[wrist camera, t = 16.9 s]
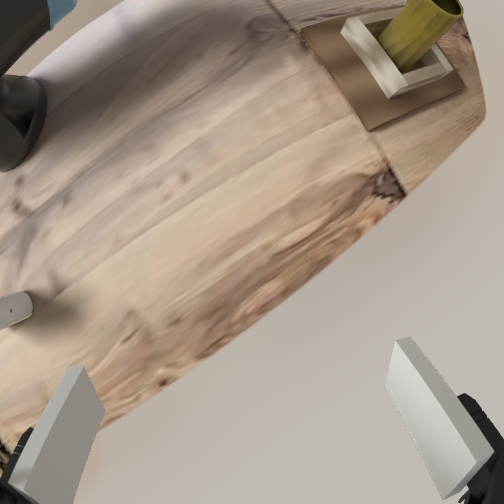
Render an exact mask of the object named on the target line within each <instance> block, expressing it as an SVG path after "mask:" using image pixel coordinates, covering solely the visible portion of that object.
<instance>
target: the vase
mask: <svg viewBox="0 0 504 504" xmlns="http://www.w3.org/2000/svg"><path fill="white" fill-rule="evenodd" d="M462 16H463V7H462V5H461V3H460V2H459V0H408V1H407V2H406V4H405V5H404V6H403V8H402V9H401V10H400V11H399V13H398V14H397V15H396V16H395V17H394V19H393V20H392V21H391V22H390V24H389V25H388V26H387V27H386V28H385V30H384V31H383V32H382V33H381V35H380V36H379V37H378V38H377V39H376V40H377V42H378V43H379V44H380V46H381V47H382V48H383V50H384V51H385V52H386V54H387V55H388V56H389V58H390V59H391V60H392V62H393V63H394V65H395V66H396V67H397V69H398V70H399V72H400V73H406V72H409V71H410V70H411V69H412V67H413V65H414V64H415V63H416V62H417V61H419V60H420V59H421V58H422V56H423V55H424V54H425V53H426V52H427V51H428V50H429V49H430V48H431V47H432V46H433V45H434V44H435V43H436V42H437V41H438V40H439V39H440V38H441V37H442V36H443V35H444V34H445V33H446V32H447V31H448V29H449V28H450V27H451V26H452V25H453V24H454V23H455V22H457V21H458V20H459V19H460V18H461V17H462Z"/></svg>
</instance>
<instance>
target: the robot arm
mask: <svg viewBox="0 0 504 504" xmlns="http://www.w3.org/2000/svg"><path fill="white" fill-rule="evenodd" d="M76 4H77V0H0V172H5V171H8V170H11V169H12V168H14V167H15V166H17V165H18V164H19V163H20V162H21V161H22V160H23V159H24V158H25V157H26V156H27V154H28V153H29V152H30V150H31V149H32V147H33V146H34V144H35V142H36V140H37V138H38V136H39V134H40V131H41V129H42V126H43V123H44V119H45V114H46V105H47V101H46V94H45V91H44V89H43V87H42V86H41V84H40V83H38V82H37V81H35V80H34V79H32V78H30V77H27V76H17V75H6V74H5V73H6V71H7V70H8V69H9V68H10V67H11V66H12V65H13V64H14V63H15V62H16V61H17V60H18V59H19V58H20V57H21V56H22V55H23V54H24V53H25V52H26V51H27V50H28V49H29V48H30V47H31V46H32V45H33V44H34V43H36V41H38V40H39V39H40V38H41V37H42V36H43V35H44V34H46V33H47V32H48V31H52V30H53V28H54V26H55V25H56V24H57V23H58V22H60V21H61V20H62V19H63V18H64V17H66V16H67V15H68V14H69V13H70V12H71V11H72V10H73V9H74V7H75V6H76ZM385 388H386V390H387V392H388V394H389V396H390V398H391V399H392V401H393V403H394V405H395V407H396V409H397V410H398V412H399V414H400V416H401V418H402V420H403V422H404V424H405V426H406V427H407V429H408V431H409V433H410V435H411V437H412V439H413V441H414V443H415V445H416V447H417V449H418V451H419V453H420V455H421V456H422V459H423V460H424V462H425V465H426V467H427V469H428V471H429V473H430V475H431V477H432V479H433V481H434V483H435V485H436V487H437V489H438V491H439V493H440V496H441V498H442V500H444V499H447V498H448V497H450V496H453V495H454V494H456V493H458V492H460V491H461V490H462V489H463V488H464V487H465V485H467V486H468V488H469V490H468V491H467V492H466V493H465V494H464V495H463V496H462V497H461V498H460V500H459V501H458V503H461V502H462V501H463V500H464V499H465V501H464V504H504V439H503V437H502V436H501V435H500V433H499V432H498V430H497V429H496V428H495V426H494V425H493V423H492V422H491V421H490V419H489V418H487V415H486V414H485V412H484V411H482V409H481V407H480V406H479V404H478V403H477V402H476V400H475V399H473V398H472V397H470V396H468V395H467V394H465V393H464V394H461V395H459V396H457V397H456V395H455V394H454V393H453V391H452V390H451V389H450V387H449V386H448V385H447V383H446V382H445V381H444V379H443V378H442V376H441V375H440V374H439V373H438V372H437V370H436V369H435V367H434V366H433V365H432V363H431V362H430V361H429V360H428V358H427V357H426V356H425V355H424V353H423V352H422V351H421V349H420V348H419V347H418V346H417V345H416V343H415V342H414V341H413V339H412V338H411V337H407V338H403V339H398V340H395V343H394V348H393V353H392V358H391V362H390V366H389V371H388V375H387V380H386V383H385ZM105 410H106V409H105V407H104V406H103V404H102V402H101V400H100V398H99V396H98V394H97V392H96V390H95V388H94V387H93V385H92V383H91V381H90V378H89V376H88V374H87V372H86V370H85V368H84V367H82V366H70V367H69V368H68V370H67V372H66V373H65V375H64V377H63V378H62V380H61V382H60V383H59V385H58V387H57V388H56V390H55V392H54V394H53V395H52V397H51V399H50V401H49V402H48V404H47V406H46V408H45V410H44V411H43V413H42V415H41V417H40V419H39V420H38V422H37V424H36V426H35V428H31V427H30V428H29V429H28V430H27V431H26V432H25V433H23V434H22V436H21V438H20V440H19V442H18V443H17V446H16V447H15V449H14V451H13V452H14V453H12V455H11V457H10V459H9V461H8V463H7V465H6V467H5V469H4V472H3V474H2V476H1V478H0V504H73V501H74V497H75V494H76V491H77V488H78V485H79V481H80V479H81V476H82V473H83V470H84V467H85V463H86V461H87V458H88V455H89V453H90V450H91V447H92V444H93V441H94V439H95V436H96V433H97V431H98V428H99V425H100V423H101V420H102V418H103V415H104V412H105Z"/></svg>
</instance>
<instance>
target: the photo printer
mask: <svg viewBox="0 0 504 504" xmlns="http://www.w3.org/2000/svg"><path fill="white" fill-rule="evenodd" d="M32 311H33V305H32V301H31V299H30V297H29V295H28V294H26V293H25V291H19V292H15V293H11V294H8V295H4V296H1V297H0V330H2V329H4V328H6V327H9V326H11V325H13V324H15V323H18V322H21V321H22V320H24V319H26V318H28V317H29V316H31V315H32Z"/></svg>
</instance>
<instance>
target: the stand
mask: <svg viewBox="0 0 504 504" xmlns="http://www.w3.org/2000/svg"><path fill="white" fill-rule="evenodd" d="M403 6H404V5H401V6H394V7H387V8H382V9H376V10H371V11H366V12H361V13H356V14H352V15H348V16H343V17H339V18H335V19H332V20H328V21H324V22H321V23H317V24H314V25H310V26H307V27H304V28H302V29H301V32H300V35H301V36H302V37H303V39H304V40H305V41H306V42H307V44H308V45H309V46H310V47H311V49H312V50H313V51H314V53H315V54H316V55H317V57H318V58H319V59H320V61H321V62H322V63H323V65H324V66H325V67H326V69H327V70H328V72H329V73H330V74H331V76H332V77H333V79H334V80H335V82H336V83H337V84H338V86H339V87H340V89H341V90H342V92H343V93H344V95H345V96H346V98H347V99H348V101H349V102H350V104H351V105H352V107H353V109H354V110H355V112H356V113H357V115H358V117H359V118H360V120H361V121H362V123H363V125H364V126H365V128H366V130H367V131H370V130H372V129H374V128H377V127H379V126H381V125H383V124H385V123H387V122H390V121H392V120H394V119H396V118H398V117H401V116H403V115H405V114H407V113H410V112H412V111H414V110H416V109H419V108H421V107H423V106H426V105H428V104H430V103H433V102H435V101H437V100H440V99H442V98H444V97H447V96H449V95H452V94H454V93H457V92H459V91H461V90H463V89H465V88H466V86H465V84H464V83H463V81H462V79H461V78H460V76H459V74H458V73H457V71H456V70H455V68H454V67H453V65H452V64H451V62H450V61H449V59H448V58H447V56H446V55H445V53H444V52H443V51H442V49H441V48H440V46H439V45H438V44H437V42H436V43H435V44H434V45H433V46H432V47H431V48H430V49H429V50H428V51H427V52H426V53H425V54H424V55H423V56H422V58H421V59H420V60H419V61H417V62H416V63H415V64H414V65H413V67H412V69H411V70H410V71H409V72H406V73H400V72H399V70H398V69H397V67H396V66H395V65H394V63H393V62H392V60H391V59H390V58H389V56H388V55H387V54H386V52H385V51H384V50H383V48H382V47H381V46H380V44H379V43H378V42H377V40H376V39H377V38H378V37H379V36H380V35H381V33H382V32H383V31H384V30H385V28H386V27H387V26H388V25H389V24H390V22H391V21H392V20H393V19H394V17H395V16H396V15H397V14H398V13H399V11H400V10H401V9H402V8H403Z"/></svg>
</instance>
